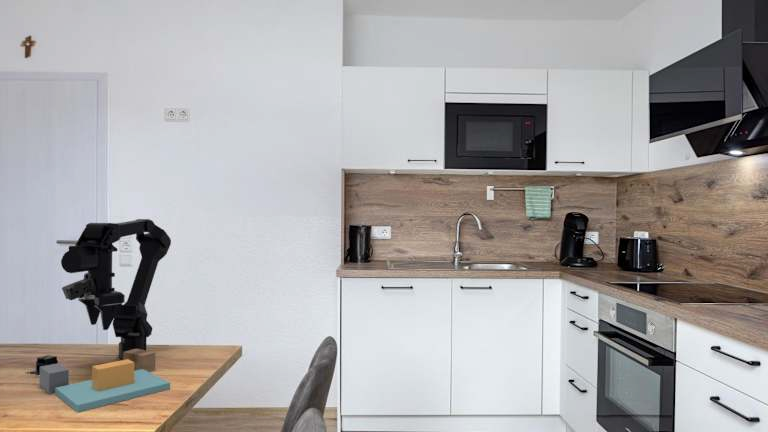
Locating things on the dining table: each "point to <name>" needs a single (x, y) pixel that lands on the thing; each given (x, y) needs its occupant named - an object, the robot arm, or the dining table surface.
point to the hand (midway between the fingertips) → (99, 327)
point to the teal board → (110, 391)
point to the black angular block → (43, 363)
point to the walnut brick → (141, 359)
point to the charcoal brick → (53, 377)
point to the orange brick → (112, 374)
